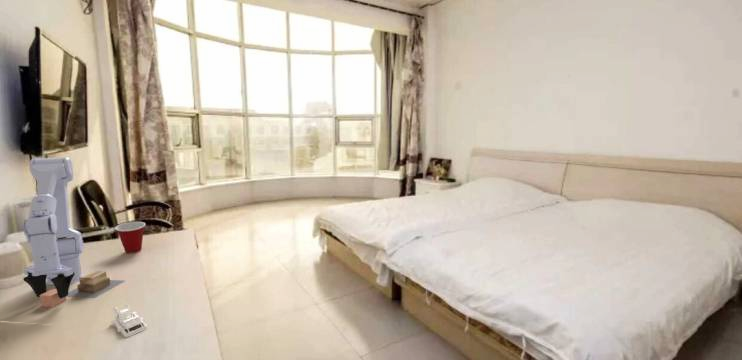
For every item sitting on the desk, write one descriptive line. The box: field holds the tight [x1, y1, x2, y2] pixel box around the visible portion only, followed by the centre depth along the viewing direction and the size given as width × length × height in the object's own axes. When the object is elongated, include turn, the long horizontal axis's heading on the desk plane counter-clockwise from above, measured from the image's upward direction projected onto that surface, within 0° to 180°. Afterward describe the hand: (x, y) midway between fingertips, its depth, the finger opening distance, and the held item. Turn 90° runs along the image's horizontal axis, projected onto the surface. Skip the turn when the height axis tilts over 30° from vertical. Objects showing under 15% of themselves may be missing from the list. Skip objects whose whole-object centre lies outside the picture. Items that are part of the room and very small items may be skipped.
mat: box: [66, 279, 125, 299], centre depth 115 cm, size 12×12×1 cm
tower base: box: [76, 277, 111, 293], centre depth 114 cm, size 6×6×2 cm
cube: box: [39, 288, 67, 308], centre depth 105 cm, size 4×4×4 cm
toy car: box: [111, 302, 149, 338], centre depth 94 cm, size 6×12×4 cm, turn 52°
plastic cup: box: [114, 221, 146, 254], centre depth 147 cm, size 11×11×12 cm
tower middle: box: [78, 270, 108, 285], centre depth 114 cm, size 5×5×2 cm
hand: (52, 296), depth 105 cm, fingers open, 7 cm apart
